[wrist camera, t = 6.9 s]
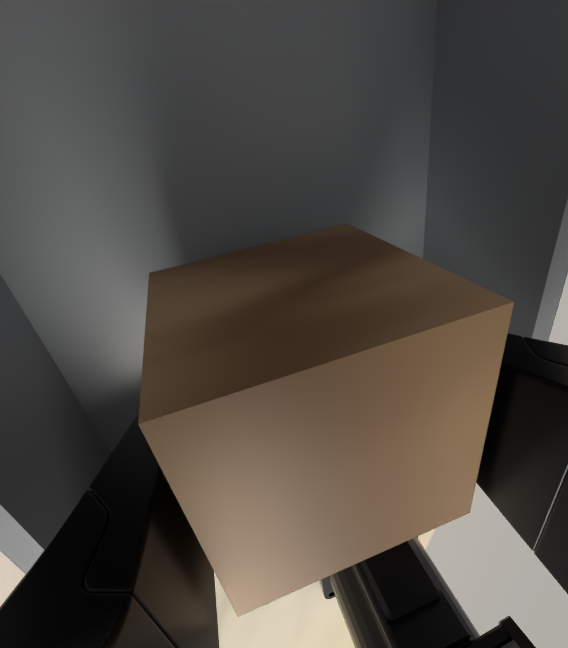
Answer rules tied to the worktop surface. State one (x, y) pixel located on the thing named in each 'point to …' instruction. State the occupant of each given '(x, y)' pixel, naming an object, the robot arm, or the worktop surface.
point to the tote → (247, 181)
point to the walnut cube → (316, 402)
